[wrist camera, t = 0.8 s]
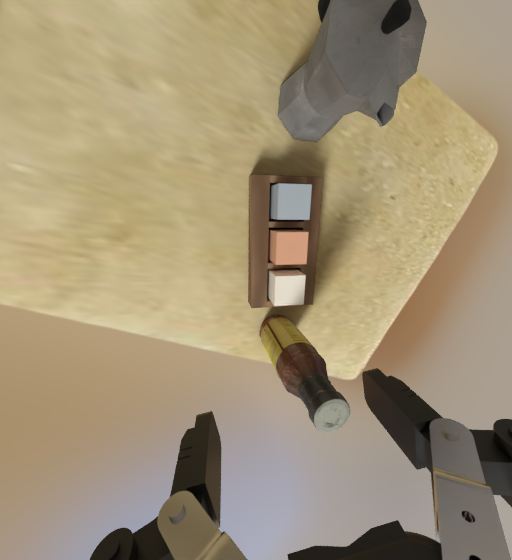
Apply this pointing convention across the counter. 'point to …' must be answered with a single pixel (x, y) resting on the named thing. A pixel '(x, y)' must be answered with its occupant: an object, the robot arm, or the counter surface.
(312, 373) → the sauce bottle
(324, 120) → the coffeepot
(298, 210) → the slate button
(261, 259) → the brown button board
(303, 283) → the cream button
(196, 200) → the counter surface
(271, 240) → the terracotta button
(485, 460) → the robot arm
